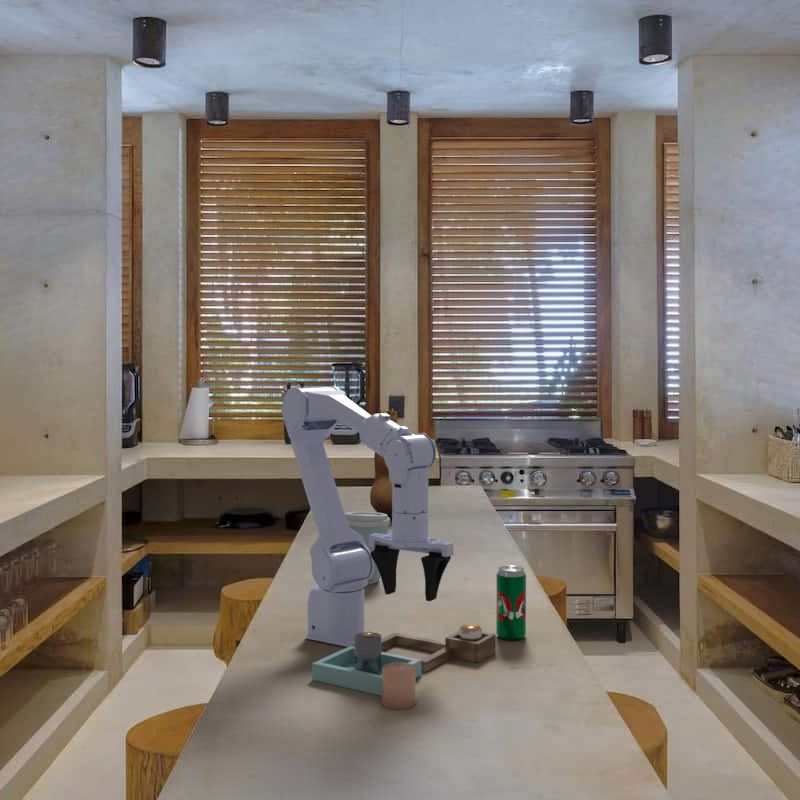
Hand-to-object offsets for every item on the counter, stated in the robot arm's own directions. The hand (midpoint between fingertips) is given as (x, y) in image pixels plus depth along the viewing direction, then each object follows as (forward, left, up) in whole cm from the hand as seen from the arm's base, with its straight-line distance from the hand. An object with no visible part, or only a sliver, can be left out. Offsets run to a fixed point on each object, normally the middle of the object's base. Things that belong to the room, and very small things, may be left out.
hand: (410, 596), depth 146 cm
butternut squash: (-75, +111, -11) cm, 134 cm away
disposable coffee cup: (-36, +40, -11) cm, 55 cm away
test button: (+6, +8, -9) cm, 13 cm away
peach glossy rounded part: (+8, -16, -10) cm, 21 cm away
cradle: (-2, +1, -10) cm, 11 cm away
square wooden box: (+6, +8, -10) cm, 15 cm away
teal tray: (-2, -10, -10) cm, 15 cm away
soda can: (+8, +20, -11) cm, 24 cm away
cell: (-2, -10, -10) cm, 14 cm away
